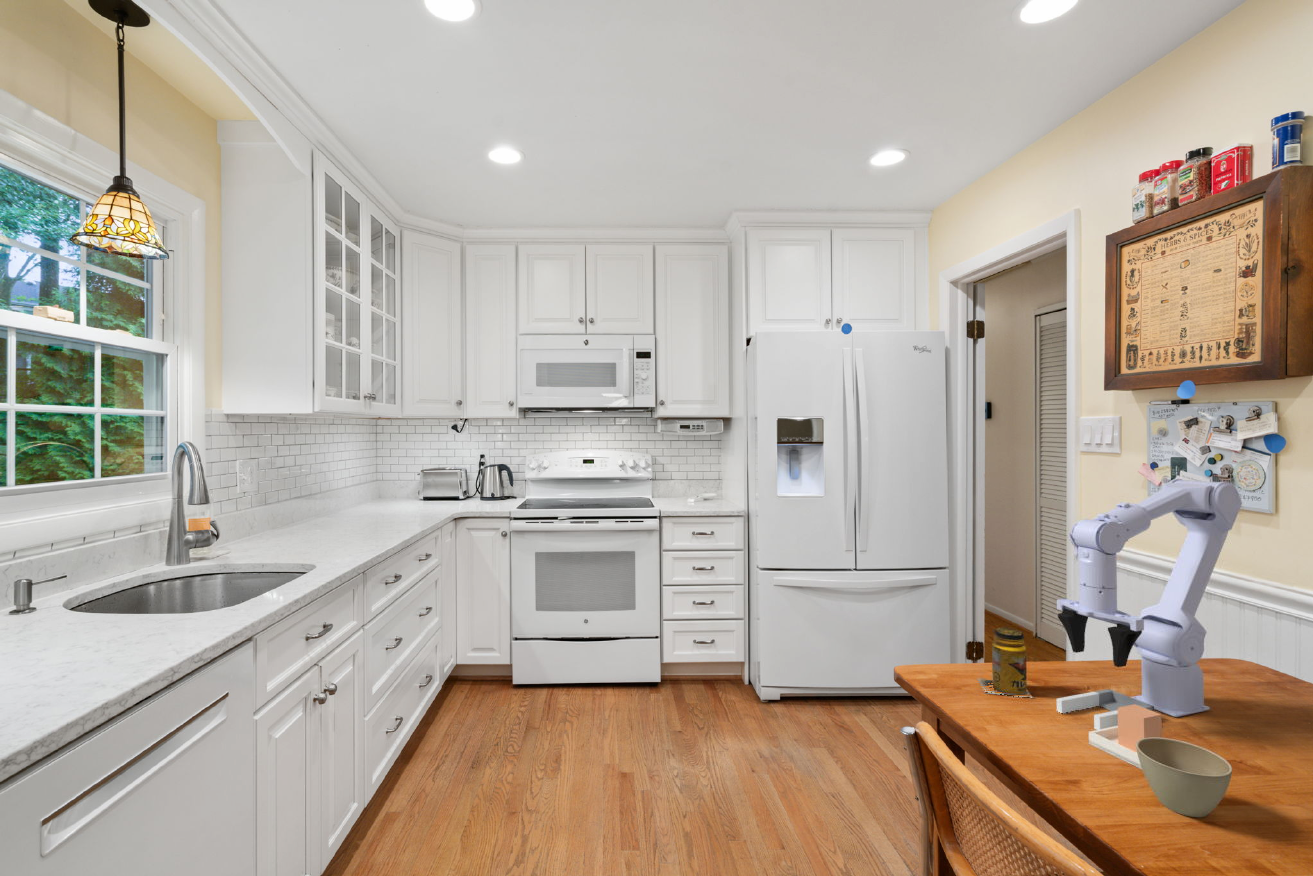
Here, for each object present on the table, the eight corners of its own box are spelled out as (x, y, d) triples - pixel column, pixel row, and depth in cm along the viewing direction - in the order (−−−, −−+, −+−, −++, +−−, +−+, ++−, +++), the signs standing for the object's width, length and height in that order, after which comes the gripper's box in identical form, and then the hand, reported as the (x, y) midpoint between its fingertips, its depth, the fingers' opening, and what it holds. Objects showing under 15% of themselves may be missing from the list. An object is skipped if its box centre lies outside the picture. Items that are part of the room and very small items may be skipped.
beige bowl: (1118, 787, 87) (1117, 738, 87) (1181, 783, 88) (1181, 735, 88) (1184, 832, 77) (1183, 777, 77) (1254, 827, 78) (1254, 773, 78)
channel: (1093, 704, 114) (1093, 691, 114) (1138, 722, 107) (1138, 709, 107) (1056, 711, 112) (1056, 698, 112) (1099, 731, 104) (1099, 717, 104)
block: (1135, 740, 100) (1134, 704, 100) (1162, 751, 96) (1161, 714, 96) (1118, 744, 98) (1117, 707, 98) (1144, 756, 95) (1143, 718, 95)
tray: (1127, 735, 102) (1127, 723, 102) (1187, 761, 94) (1187, 749, 94) (1088, 743, 100) (1088, 731, 100) (1147, 772, 91) (1147, 759, 91)
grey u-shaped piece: (1109, 701, 116) (1108, 688, 116) (1154, 719, 108) (1154, 706, 108) (1093, 704, 114) (1093, 691, 114) (1138, 722, 107) (1138, 709, 107)
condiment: (1033, 699, 117) (1032, 638, 117) (985, 694, 120) (984, 634, 120) (1022, 684, 124) (1022, 626, 124) (977, 680, 127) (976, 623, 127)
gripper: (1044, 578, 116) (1045, 648, 116) (1123, 596, 102) (1124, 675, 102) (1071, 575, 118) (1072, 643, 118) (1151, 592, 104) (1153, 670, 104)
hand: (1098, 658), depth 110 cm, fingers open, 7 cm apart
